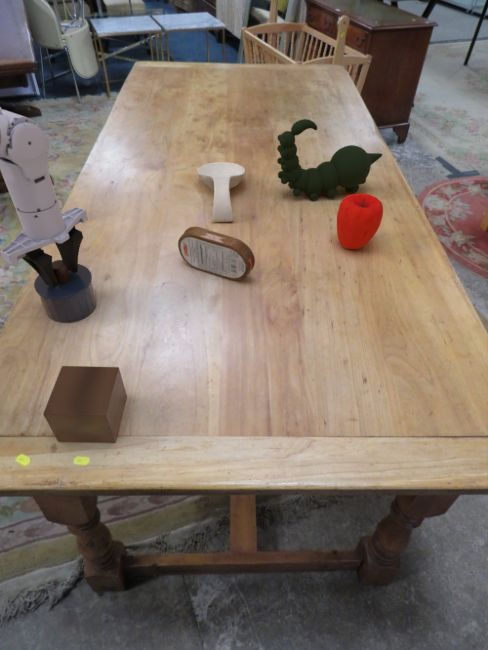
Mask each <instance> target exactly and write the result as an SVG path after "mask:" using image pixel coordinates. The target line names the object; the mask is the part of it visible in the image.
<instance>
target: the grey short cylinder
mask: <svg viewBox="0 0 488 650" xmlns="http://www.w3.org/2000/svg"><path fill="white" fill-rule="evenodd" d="M38 296H39V298H40V301H41V303H42V305H43V309H44V311H45V313H46V315H47V316H48V318H49V319H51V320H53V321H54V322H57V323H63V324H69V323H74V322H79V321H82V320H84V319H85V318H87V317H88V316H90V315H91V314H92V313H93V312H94V311H95V310H96V307H97V305H98V302H97V296H96V293H95V289H94V286H93V283H92V281H91V283H90V285H89V287H88V288H87V289H86V290H85V291H83V292H82V293H80V294H78V295H76V296H74V297H71V298H67V299H61V300H51V299H47V298H44V297H42V296H40V295H39V294H38Z"/></svg>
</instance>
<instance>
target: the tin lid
mask: <svg viewBox="0 0 488 650" xmlns="http://www.w3.org/2000/svg"><path fill="white" fill-rule="evenodd" d="M52 267H53V272H54V275H55V277H56V280H57V286H56V287H55V288H53V287H51V286H48V285H46V284H45V282H44V281H43V279H42V278H41V277H40V275H39V274H38V275H37V277H35V280H34V283H33V288H34V290H35V292H36V293H37V294H38V296H39V295H40V296H42V297H44V298H47V299H51V300H61V299H67V298H71V297H74V296H76V295H78V294H80V293H82V292H83V291H85V290H86V289H87V288H88V287H89V285H90V283H91V282H92V280H93V275H92V273H91V271H90V269H89V268H88V267H86V266H85V265H83V264H80V263H78V272H76V273H73V272H71V271H69V270H68V268H67V265H66V262H65V261H63V260H62V259H57V260H54V261H52ZM40 296H39V297H40Z"/></svg>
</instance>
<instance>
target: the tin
mask: <svg viewBox="0 0 488 650" xmlns="http://www.w3.org/2000/svg"><path fill="white" fill-rule="evenodd" d="M177 247H178V252H179V254H180V256H181V258H182V259H183V260H184V262H186V264H188V265H189V266H190V267H192V268H194V269H196V270H199V271H202V272H206V273H209V274H211V275H214V276H218V277H221V278H223V279H227V280H231V281H242V280H243V279H245V278H246V277H247V276H248V275H249V274H250V272H251V271H252V270H253V269H254V268H255V265H256V258H255V255H254V253H253V251H252V249H251V248H250V246H248V244H246V243H245V242H244V241H243V240H241V239H239V238H237V237H234V236H231V235H227V234H225V233H220V232H218V231H214V230H210V229H207V228H204V227H200V226H191V227H188V228H186V229H185V230H184V232H183V234H181V236H180V237H179V239H178V242H177Z"/></svg>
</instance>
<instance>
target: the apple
mask: <svg viewBox="0 0 488 650" xmlns="http://www.w3.org/2000/svg"><path fill="white" fill-rule="evenodd" d="M383 216H384V205H383V202H382V201H381V200H380V199H379V198H377V197H376V196H374V195H372V194H370V193H369V194H368V193H364V192H363V193H350V194H348V195H346V196H344V197H343V198H342V200H341V202H340V203H339V205H338V210H337V214H336V235H337V238H338V242H339V245H340V246H341V247H343V248H344V249H347V250H359V249H361V248H363V247H365V246H366V245H367V244H368V243H369V242H371V240H372V239H373V238H374V237H375V235H376V233H377V232H378V230H379V228H380V226H381V223H382V219H383Z"/></svg>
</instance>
